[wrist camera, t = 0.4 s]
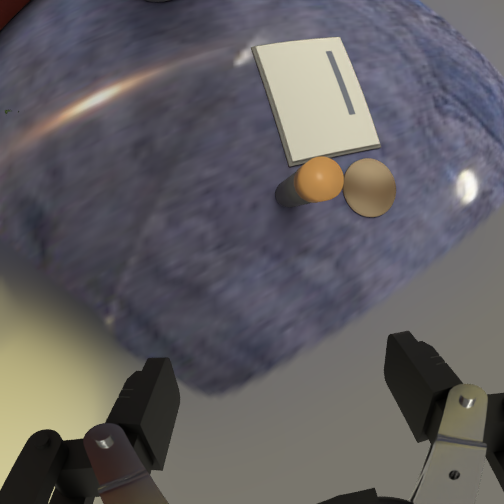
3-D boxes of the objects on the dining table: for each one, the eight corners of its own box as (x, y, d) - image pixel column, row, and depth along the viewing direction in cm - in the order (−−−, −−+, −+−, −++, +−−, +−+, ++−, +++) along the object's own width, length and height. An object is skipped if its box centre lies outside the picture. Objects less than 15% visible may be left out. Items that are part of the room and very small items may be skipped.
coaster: (335, 165, 36) (336, 164, 36) (385, 154, 36) (387, 154, 36) (351, 223, 37) (352, 223, 36) (399, 209, 37) (401, 209, 37)
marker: (270, 184, 36) (296, 161, 22) (297, 177, 36) (336, 152, 22) (277, 212, 36) (308, 205, 23) (304, 205, 36) (348, 194, 23)
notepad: (251, 48, 34) (251, 44, 33) (338, 38, 35) (341, 34, 34) (288, 167, 36) (290, 165, 35) (379, 147, 36) (383, 146, 35)
